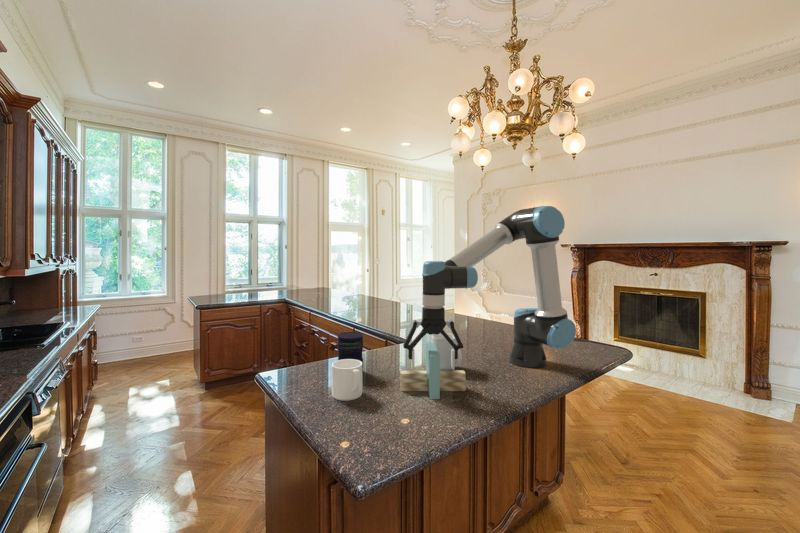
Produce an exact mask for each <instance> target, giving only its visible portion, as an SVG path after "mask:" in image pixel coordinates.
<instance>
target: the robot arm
mask: <svg viewBox="0 0 800 533" xmlns="http://www.w3.org/2000/svg"><path fill="white" fill-rule="evenodd" d="M564 218H565V217H564V215H563V213H562V212H561V211H560V209H557V207H555V206H552V205H539V206H536V207H535V206H534V207H529V208H523V209H522V208H521V209H520V210H517V211H514V212H513V213H511V214H510V215H508V216H507V217H505V218H503V219H502V220H501V221H500V222H497V223H496V224H495V225H494V228H493V229H492V230H490V231H489V232H487V233H486V234H484V235H483V236H481V237H480V238H479V239H477V240H476V241H474V242H473V243H471V244H469V245H468V246H467V247H465V248H464V249H462V250H461V251H459V252H458V253H456V254H455V255H454V256H452V257H451V258H449V259H447V260H445V261H443V260H441V261H440V260H427V261H424V262H423V265H422V275H421V276H422V306H423V307H422V311H421V312H422V313H421V314H422V315H421V318H422V319H421V321H419V320H418V321H417V320H416V319H414V320H412V326H411V329H410V330H409V332H408V334H407V336H406V338H405V340H404V342H403V344H402V345H403V347H402V348H404V349H406V350H408V360H411V371H415V347H416V346H417V345H418V344H419V342H421V340H422V339H423V338H424V337H425V336H426V335H427V334H428V335H431V336H432V335H433V334H436V335H438V334H439V333H441V334H442V335H443V336H444V337H445V339H446V340H447V341H448V342H449V343H450V344H451V346H452V347H453V348H454V349H451V368H452V369H451V370H455V368H456V367H455V359H457V360H458V350H459V349H460V350H461V349H463V348H464V344H463V342H462V340H461V339H460V337H459V334H458V333H457V330H456V328H455V322H454V321H453V320H452V319H450V320H448V321H445V318H446V317H445V316H446V315H445V314H446V313H445V310H446V309H445V305H446V303H445V302H446V299H445V298H446V296H445V295H446V290H447V289H448V290H450V289H472V288H474V287H476V285H477V284H478V281H479V280H478V279H479V274H478V272H477V269H476V268H475V267H474V266H476V265H477V264H479V263H480V262H481V261H483V260H484V259H486V258H487V257H489V256H490V255H491V254H493V253H495V251H497V250H499V249H500V248H502V247H503V246H504V245H511V244H512V243H513V242H515V241H518V240H522V239H525V243H526V246H528V248H530V249H531V250H530V252H531V259H532V260H531V261H532V266H533V267H532V268H533V276H534V285H535V292H536V293H535V294H536V302H537V307H534V308H533V307H532V308H531V307H528V308H516V309H515V311H514V314H513V315H514V316H513V344H512V346H511V349H510V352H509V355H508V362H510V363H511V364H513V365H516V366H519V367H524V368H534V369H535V368H542V367H543V368H544V367H545V366H547V364H548V363H547V362H548V359H547V355H546V353H545V348H544V345H547V346H548V347H550V348H555V349H561V350H562V349H565V348H566V347H567V348H568V346H570V345H571V344H572V342H573V341H574V339H575V337H576V333H577V327H576V324H575V322H573V321H572V319H569V318H568V311H567V310H566V309H565V308H564V307H563V303H562V295H561V286H560V284H561V283H560V277H559V276H560V275H559V267H558V258H557V249H556V245H557V244H558V243H559V242H560V235H561V234H562V233H563V232H564V229H565V219H564ZM419 326H421V328H422V329H421V330H420V331H419V333H418V334H417V336H416V337H415V338H414V339H413V340H412V338H413V336H414V335H415V333H416V331H417V328H419ZM446 326H447V328H450V330H451V334H453V335H454V337H455V339H456V341H457V343H458V344H457V345H456V344H455V343H454V342H453V341H452V340H451V339H450V337H449V336H448V335H447V334H446V333H447V332H446V331H445V329H444V328H445V327H446ZM411 340H412V341H411ZM410 342H411V343H410Z"/></svg>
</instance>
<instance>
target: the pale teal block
mask: <svg viewBox="0 0 800 533" xmlns="http://www.w3.org/2000/svg"><path fill="white" fill-rule="evenodd" d="M425 371H427V380H428V391H427V392H428V395H429V399H430V400H440V399H441V398H440V395H441V393H440V392H441V391H440V371H441V370H440V355H439V352H438V350H437V348H436V346H435V344H434V343H431V342H425Z"/></svg>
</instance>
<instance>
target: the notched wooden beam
mask: <svg viewBox="0 0 800 533" xmlns="http://www.w3.org/2000/svg"><path fill="white" fill-rule="evenodd" d="M466 378H467V374H466V372H465V370H464V369H463V370H461V369H460V370H457V369H456V370H452V369H451V370H440V392H466V391H467V390H466V384H467V383H466V381H467V380H466ZM399 382H400V392H428V380H427V371H426V370H400V380H399Z"/></svg>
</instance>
